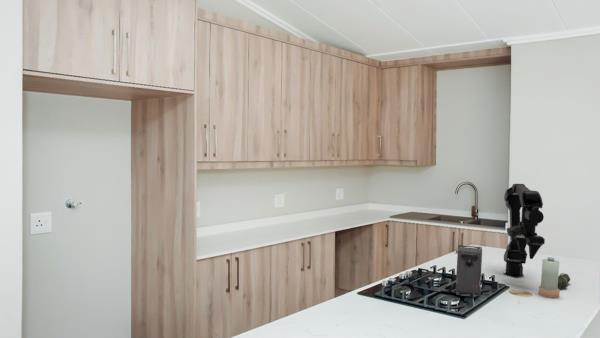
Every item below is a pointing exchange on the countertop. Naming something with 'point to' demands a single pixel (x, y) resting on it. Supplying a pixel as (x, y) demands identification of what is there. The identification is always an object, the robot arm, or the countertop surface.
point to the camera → (468, 270)
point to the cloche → (550, 274)
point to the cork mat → (521, 293)
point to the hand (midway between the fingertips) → (526, 256)
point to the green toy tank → (563, 281)
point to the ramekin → (548, 293)
